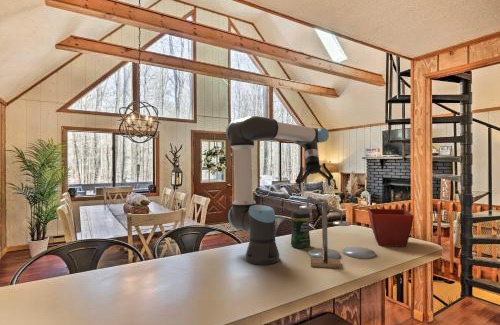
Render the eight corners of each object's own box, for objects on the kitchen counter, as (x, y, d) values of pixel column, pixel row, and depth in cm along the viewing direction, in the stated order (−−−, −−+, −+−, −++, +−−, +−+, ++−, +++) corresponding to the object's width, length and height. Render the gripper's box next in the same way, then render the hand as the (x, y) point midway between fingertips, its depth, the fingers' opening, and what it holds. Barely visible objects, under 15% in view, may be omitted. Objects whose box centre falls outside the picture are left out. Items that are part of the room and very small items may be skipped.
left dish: (308, 259, 125) (308, 256, 125) (308, 250, 139) (308, 247, 139) (341, 260, 122) (341, 258, 122) (338, 251, 136) (338, 249, 136)
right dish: (344, 257, 127) (344, 254, 127) (341, 248, 140) (341, 246, 140) (378, 259, 124) (378, 256, 124) (371, 250, 137) (371, 247, 137)
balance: (300, 266, 116) (299, 196, 117) (300, 260, 123) (299, 195, 124) (352, 269, 112) (351, 197, 113) (350, 263, 119) (348, 195, 120)
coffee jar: (297, 249, 140) (296, 212, 140) (288, 245, 147) (288, 209, 148) (313, 247, 144) (312, 210, 144) (304, 243, 151) (303, 208, 151)
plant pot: (372, 246, 143) (371, 213, 143) (368, 237, 161) (367, 208, 162) (414, 249, 138) (414, 215, 138) (405, 239, 156) (404, 209, 156)
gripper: (335, 158, 159) (340, 192, 148) (292, 165, 167) (294, 198, 156) (333, 151, 153) (338, 186, 142) (289, 159, 161) (290, 192, 150)
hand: (315, 192), depth 149 cm, fingers open, 13 cm apart
